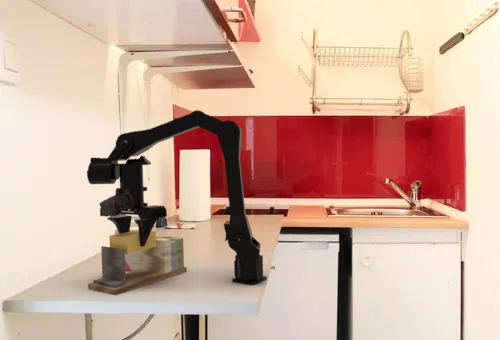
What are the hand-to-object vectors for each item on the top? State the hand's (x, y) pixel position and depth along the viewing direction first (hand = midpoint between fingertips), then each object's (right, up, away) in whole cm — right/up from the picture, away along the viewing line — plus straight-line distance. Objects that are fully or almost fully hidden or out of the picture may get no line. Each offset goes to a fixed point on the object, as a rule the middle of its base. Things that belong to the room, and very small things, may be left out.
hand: (133, 245), depth 111 cm
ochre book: (0, -1, 0) cm, 1 cm away
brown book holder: (+1, -9, +2) cm, 9 cm away
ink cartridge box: (-4, -9, +14) cm, 17 cm away
